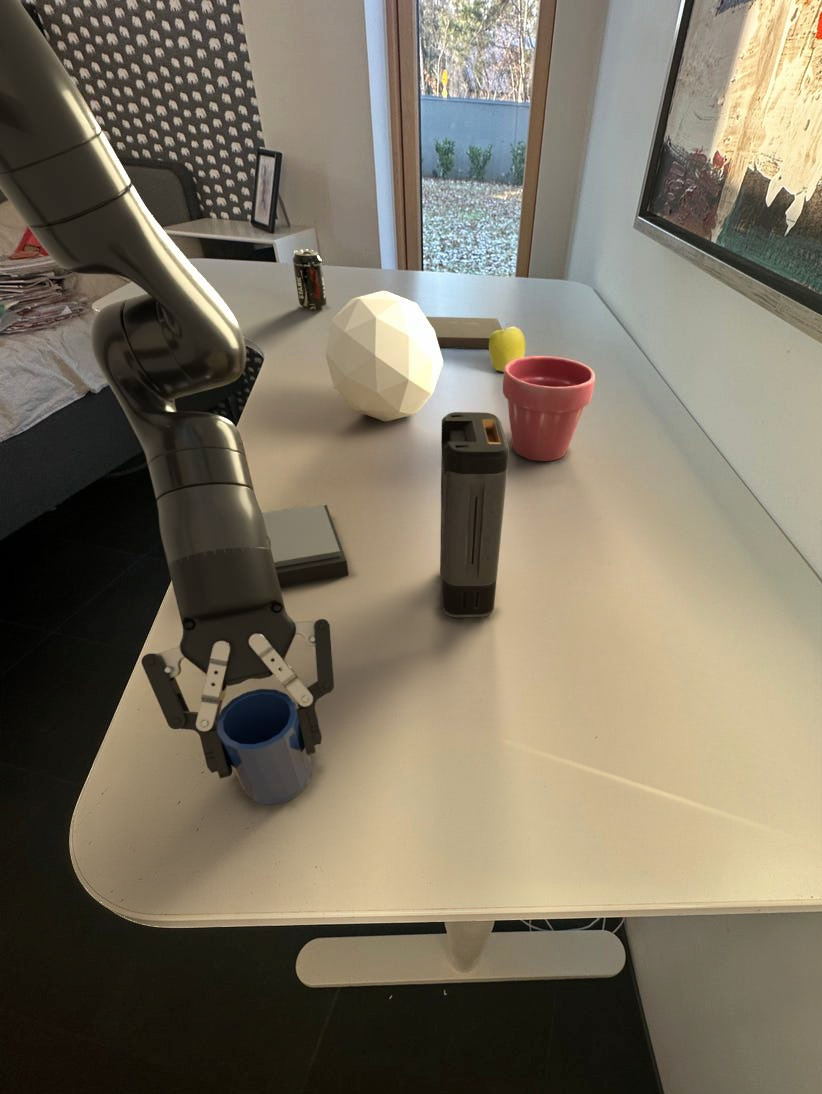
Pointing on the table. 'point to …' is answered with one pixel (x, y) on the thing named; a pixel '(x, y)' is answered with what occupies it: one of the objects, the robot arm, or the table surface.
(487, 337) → the hardcover book
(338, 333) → the geometric sculpture
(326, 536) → the kitchen scale
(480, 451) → the electronic device
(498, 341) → the apple
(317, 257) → the beverage can
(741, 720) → the table surface
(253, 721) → the cup
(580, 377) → the flower pot
